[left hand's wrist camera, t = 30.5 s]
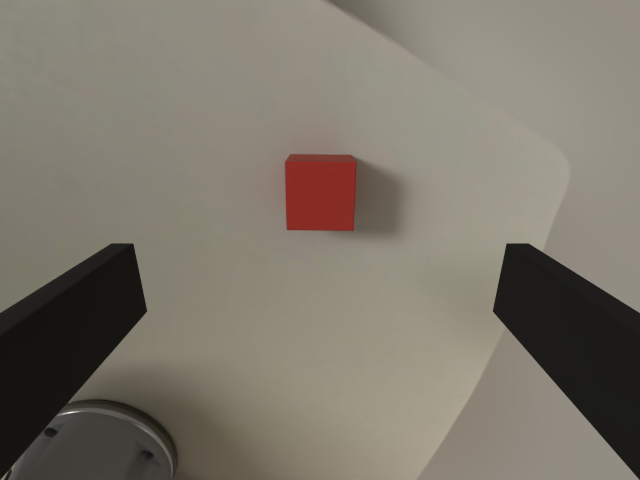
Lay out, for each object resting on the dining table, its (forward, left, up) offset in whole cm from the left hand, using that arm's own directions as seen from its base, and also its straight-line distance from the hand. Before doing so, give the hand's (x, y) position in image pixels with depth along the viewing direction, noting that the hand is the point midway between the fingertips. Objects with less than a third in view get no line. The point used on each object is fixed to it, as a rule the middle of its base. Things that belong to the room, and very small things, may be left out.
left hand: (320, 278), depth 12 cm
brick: (0, 0, -17) cm, 17 cm away
